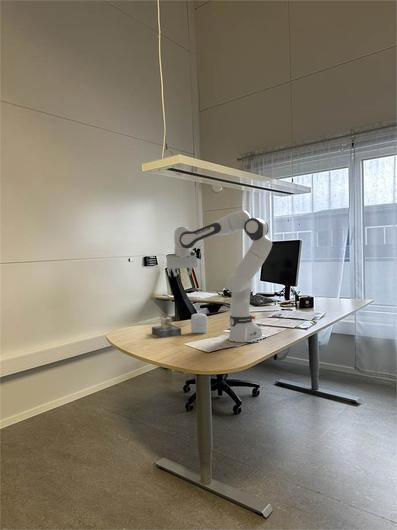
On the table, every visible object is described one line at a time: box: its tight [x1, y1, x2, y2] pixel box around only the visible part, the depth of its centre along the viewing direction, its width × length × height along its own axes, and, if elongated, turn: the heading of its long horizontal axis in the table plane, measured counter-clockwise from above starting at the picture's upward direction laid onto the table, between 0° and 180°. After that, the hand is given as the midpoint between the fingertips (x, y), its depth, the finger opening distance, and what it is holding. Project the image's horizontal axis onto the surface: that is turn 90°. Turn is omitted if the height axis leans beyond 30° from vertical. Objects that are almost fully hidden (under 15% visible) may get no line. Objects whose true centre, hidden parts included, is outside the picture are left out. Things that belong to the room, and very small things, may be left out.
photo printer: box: [190, 313, 208, 334], centre depth 226 cm, size 10×4×12 cm, turn 84°
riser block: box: [151, 323, 182, 339], centre depth 225 cm, size 14×14×4 cm
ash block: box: [160, 316, 173, 329], centre depth 224 cm, size 5×5×6 cm
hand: (182, 275), depth 221 cm, fingers open, 8 cm apart
